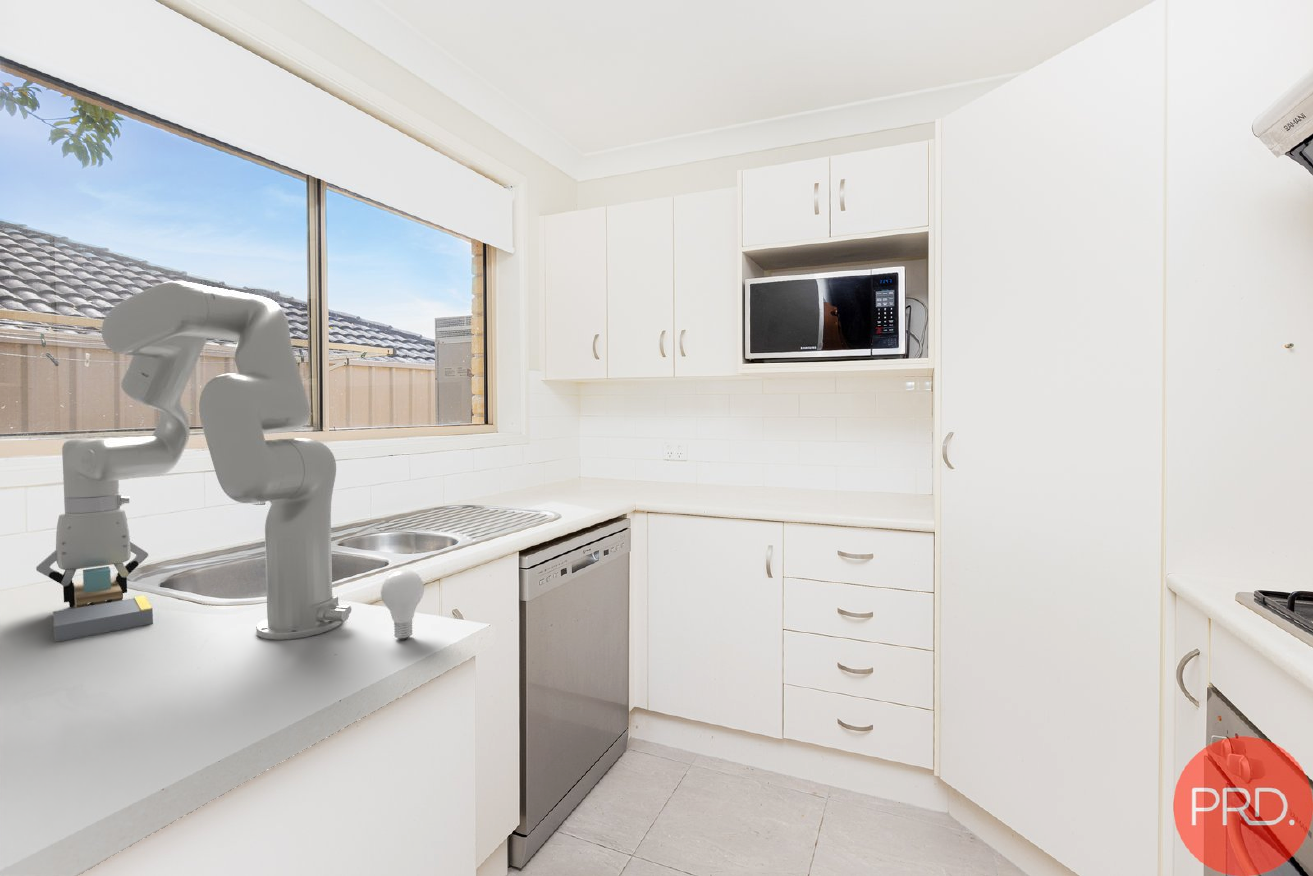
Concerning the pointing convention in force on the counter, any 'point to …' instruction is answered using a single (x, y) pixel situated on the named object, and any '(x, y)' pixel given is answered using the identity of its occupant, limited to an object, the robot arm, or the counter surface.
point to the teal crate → (96, 579)
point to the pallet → (96, 595)
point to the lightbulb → (402, 599)
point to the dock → (101, 618)
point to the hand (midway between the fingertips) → (96, 600)
